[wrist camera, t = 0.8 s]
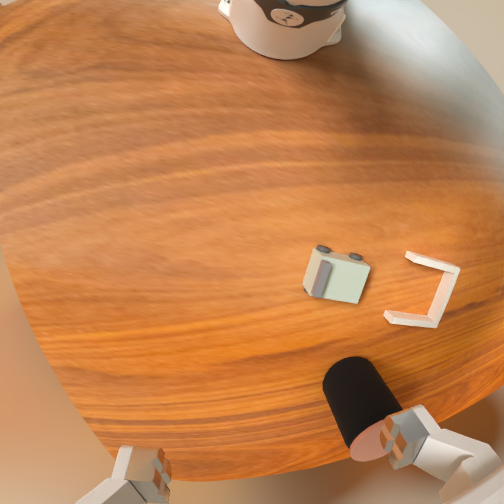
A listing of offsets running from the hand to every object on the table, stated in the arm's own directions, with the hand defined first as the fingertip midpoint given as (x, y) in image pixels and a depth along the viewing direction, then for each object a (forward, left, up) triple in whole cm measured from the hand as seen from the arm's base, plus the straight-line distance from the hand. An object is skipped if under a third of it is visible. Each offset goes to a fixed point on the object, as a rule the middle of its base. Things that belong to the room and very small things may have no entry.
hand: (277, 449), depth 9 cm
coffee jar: (+23, +27, -35) cm, 50 cm away
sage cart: (+3, +16, -35) cm, 39 cm away
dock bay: (+3, +34, -35) cm, 49 cm away
